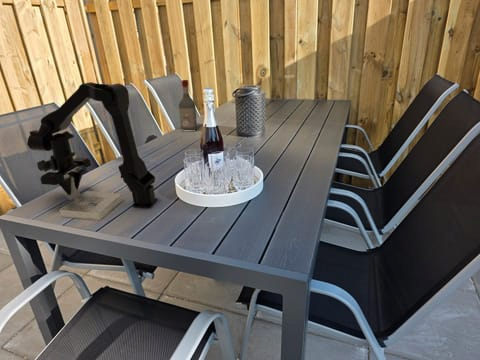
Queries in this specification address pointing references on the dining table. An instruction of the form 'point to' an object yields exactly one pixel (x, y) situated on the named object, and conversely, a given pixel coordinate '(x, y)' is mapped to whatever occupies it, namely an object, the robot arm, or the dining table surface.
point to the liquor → (187, 109)
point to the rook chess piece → (73, 190)
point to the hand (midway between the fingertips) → (72, 192)
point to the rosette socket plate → (82, 210)
